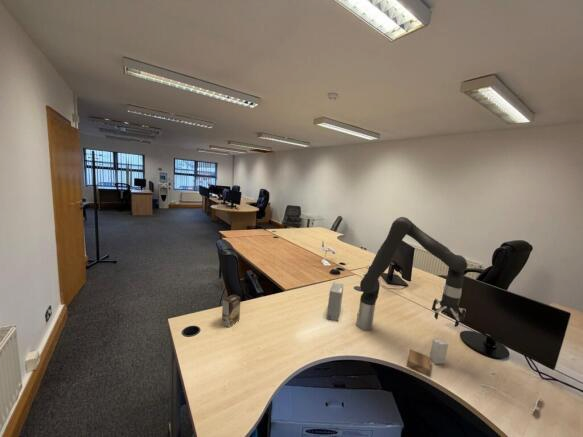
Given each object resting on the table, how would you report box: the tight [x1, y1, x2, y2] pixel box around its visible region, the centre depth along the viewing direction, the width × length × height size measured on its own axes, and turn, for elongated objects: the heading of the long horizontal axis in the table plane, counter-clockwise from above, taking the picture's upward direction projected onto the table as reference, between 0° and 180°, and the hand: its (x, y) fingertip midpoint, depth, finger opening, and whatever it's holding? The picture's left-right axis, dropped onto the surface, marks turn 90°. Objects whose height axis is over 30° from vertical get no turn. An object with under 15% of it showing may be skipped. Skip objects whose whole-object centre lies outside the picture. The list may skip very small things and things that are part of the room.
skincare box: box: [428, 338, 449, 365], centre depth 124 cm, size 6×4×12 cm
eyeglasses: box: [480, 371, 542, 415], centre depth 109 cm, size 15×18×4 cm
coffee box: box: [221, 294, 241, 328], centre depth 144 cm, size 9×6×16 cm
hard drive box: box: [326, 281, 345, 322], centre depth 161 cm, size 16×8×20 cm, turn 161°
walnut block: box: [406, 348, 432, 377], centre depth 122 cm, size 10×10×4 cm
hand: (445, 322), depth 124 cm, fingers open, 8 cm apart
